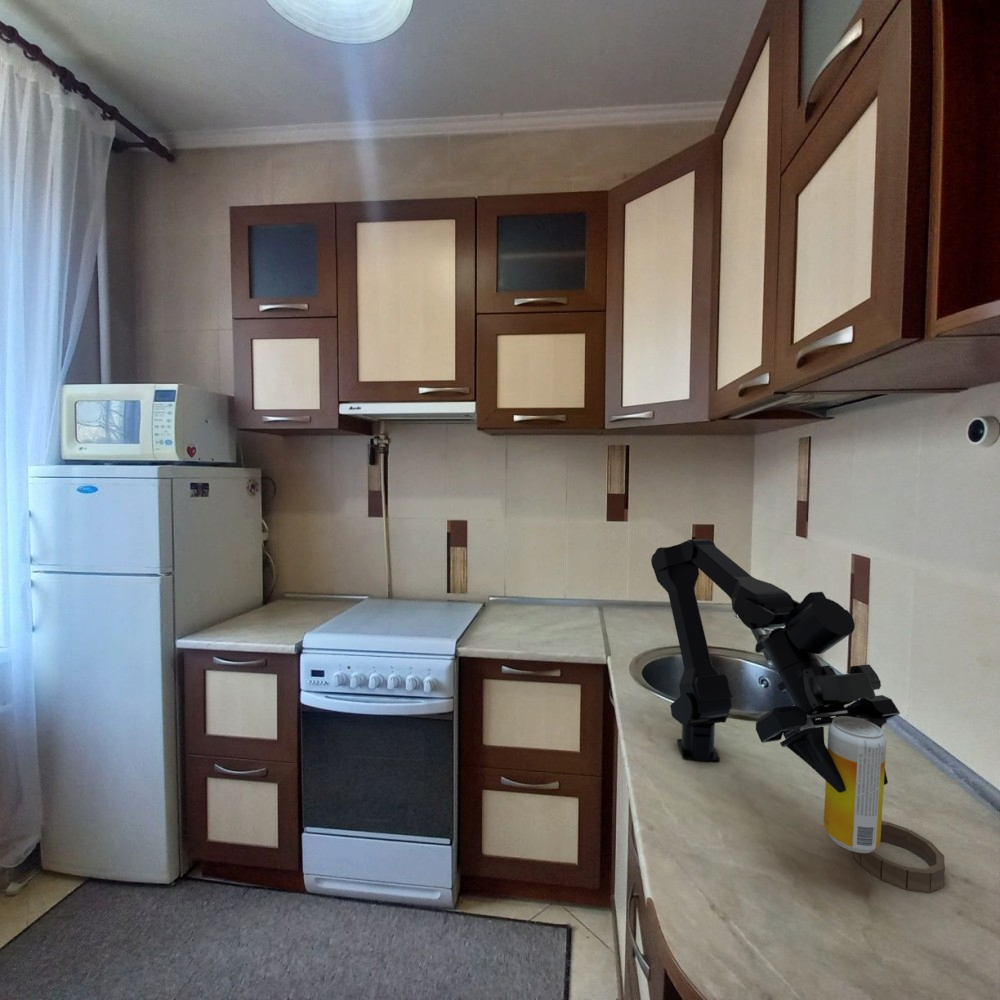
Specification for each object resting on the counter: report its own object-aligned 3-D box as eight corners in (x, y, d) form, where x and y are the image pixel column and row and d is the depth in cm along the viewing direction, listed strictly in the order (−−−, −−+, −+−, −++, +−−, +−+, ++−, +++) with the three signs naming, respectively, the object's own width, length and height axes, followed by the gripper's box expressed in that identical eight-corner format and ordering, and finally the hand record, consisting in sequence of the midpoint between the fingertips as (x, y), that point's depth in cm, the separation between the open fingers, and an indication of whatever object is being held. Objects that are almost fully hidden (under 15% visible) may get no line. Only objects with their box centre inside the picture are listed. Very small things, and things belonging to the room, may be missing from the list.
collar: (837, 833, 78) (838, 816, 77) (913, 840, 76) (914, 824, 76) (874, 886, 68) (875, 867, 68) (962, 896, 66) (964, 877, 66)
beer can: (857, 822, 71) (863, 714, 70) (892, 855, 65) (899, 737, 64) (813, 823, 71) (818, 714, 70) (844, 857, 65) (850, 738, 64)
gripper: (774, 648, 68) (844, 781, 58) (891, 638, 73) (974, 760, 63) (731, 683, 76) (786, 804, 66) (838, 672, 81) (904, 784, 71)
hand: (863, 788), depth 66 cm, fingers closed on beer can, 6 cm apart
